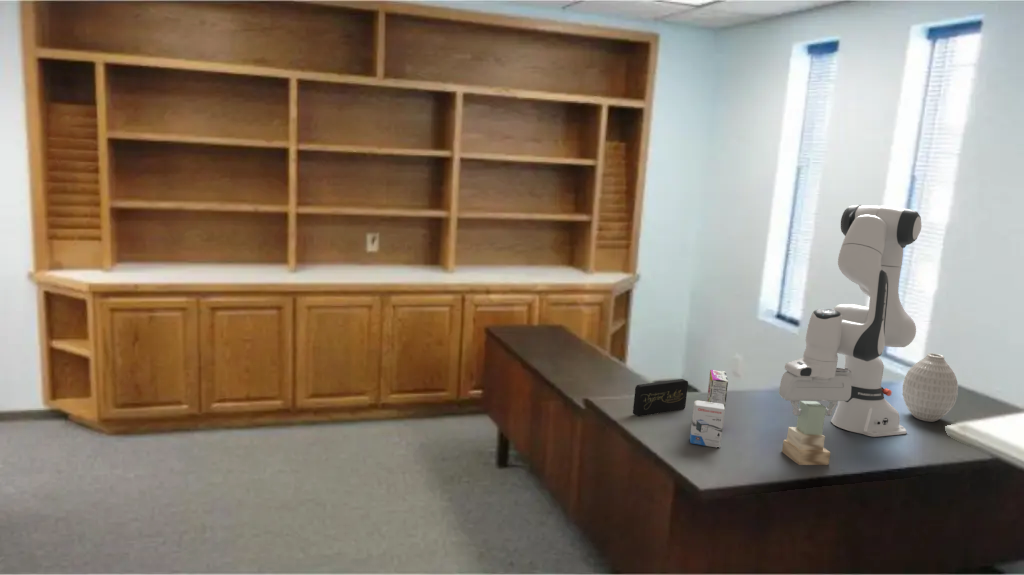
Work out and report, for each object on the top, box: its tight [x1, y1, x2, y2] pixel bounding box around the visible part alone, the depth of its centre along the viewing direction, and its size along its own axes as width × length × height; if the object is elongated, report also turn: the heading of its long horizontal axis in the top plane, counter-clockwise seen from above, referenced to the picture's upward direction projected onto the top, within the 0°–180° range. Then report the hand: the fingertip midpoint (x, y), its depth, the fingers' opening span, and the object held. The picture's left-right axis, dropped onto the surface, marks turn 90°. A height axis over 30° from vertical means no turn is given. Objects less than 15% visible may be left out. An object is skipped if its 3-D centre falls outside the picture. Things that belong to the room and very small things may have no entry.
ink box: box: [689, 399, 726, 449], centre depth 213 cm, size 9×5×12 cm, turn 77°
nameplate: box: [632, 378, 689, 417], centre depth 238 cm, size 21×2×10 cm, turn 121°
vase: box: [902, 352, 959, 423], centre depth 250 cm, size 16×16×22 cm
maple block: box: [786, 426, 826, 450], centre depth 208 cm, size 7×7×4 cm
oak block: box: [781, 439, 831, 466], centre depth 208 cm, size 9×9×4 cm
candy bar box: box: [706, 369, 729, 407], centre depth 228 cm, size 11×5×16 cm, turn 168°
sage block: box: [795, 401, 827, 435], centre depth 207 cm, size 5×5×8 cm
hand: (812, 414), depth 207 cm, fingers open, 8 cm apart
